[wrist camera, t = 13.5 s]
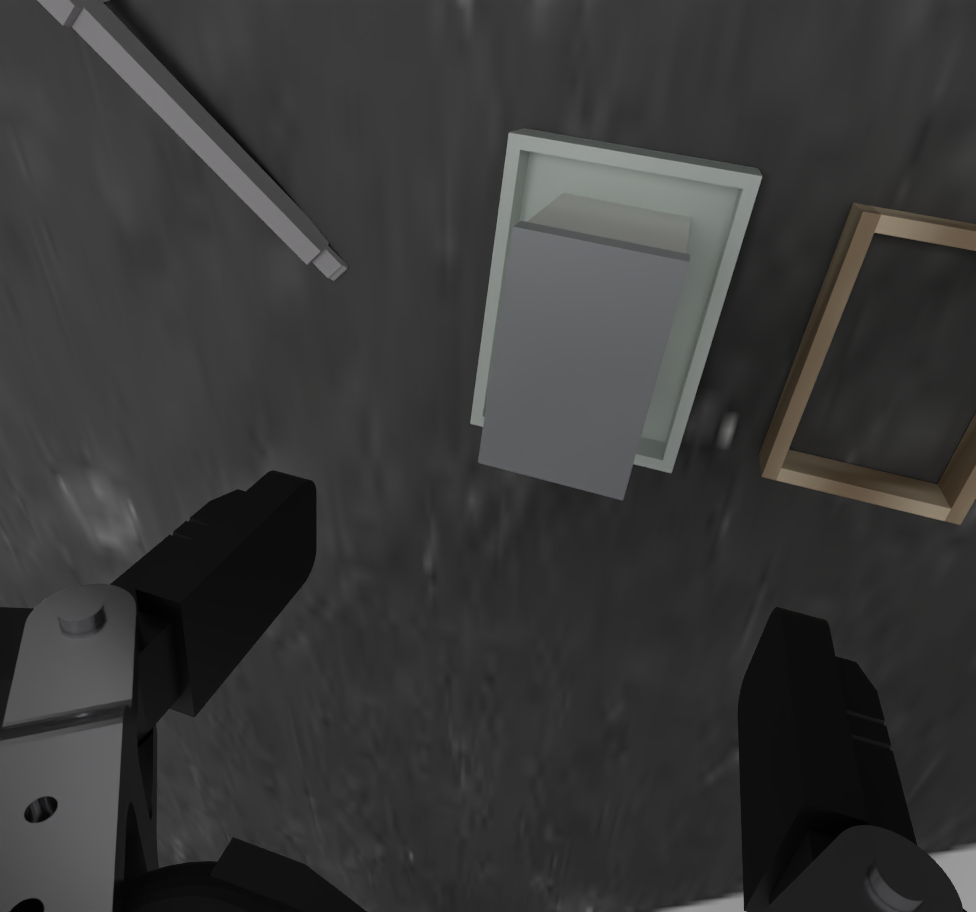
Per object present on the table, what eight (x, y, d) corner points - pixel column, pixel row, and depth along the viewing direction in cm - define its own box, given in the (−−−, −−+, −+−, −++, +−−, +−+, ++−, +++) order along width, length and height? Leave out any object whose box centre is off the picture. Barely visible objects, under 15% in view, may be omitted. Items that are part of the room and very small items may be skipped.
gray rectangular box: (694, 214, 27) (689, 262, 20) (641, 407, 31) (623, 500, 24) (561, 189, 28) (513, 226, 21) (527, 380, 32) (477, 462, 25)
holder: (1086, 243, 25) (1114, 255, 23) (946, 499, 30) (960, 524, 28) (853, 202, 26) (863, 211, 24) (758, 455, 31) (761, 476, 30)
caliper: (5, -125, 29) (-153, -169, 24) (17, -149, 28) (-143, -200, 23) (338, 279, 33) (267, 318, 28) (353, 265, 33) (284, 302, 27)
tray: (758, 168, 26) (762, 176, 24) (673, 447, 32) (671, 473, 30) (524, 128, 28) (508, 132, 26) (485, 401, 34) (470, 423, 32)
